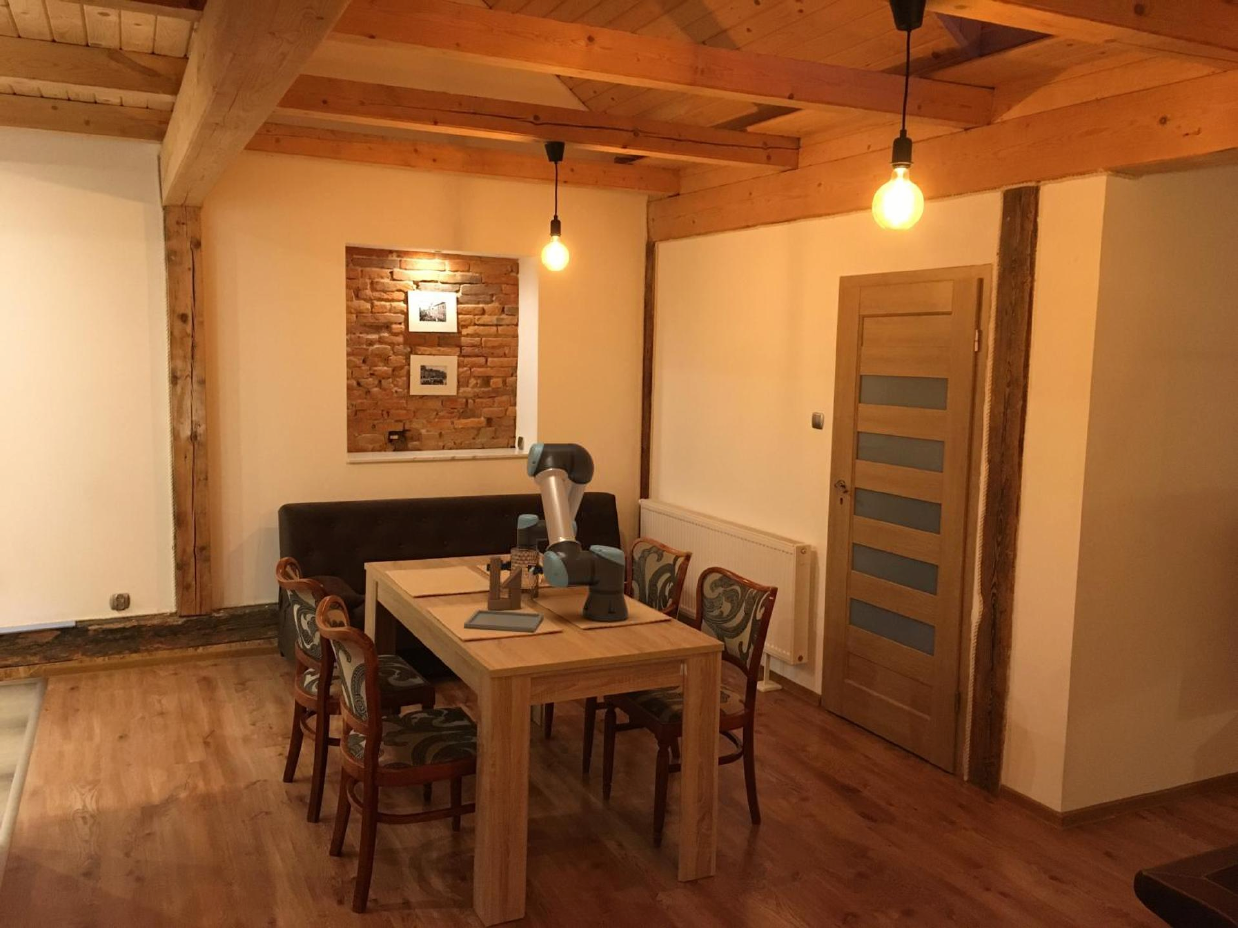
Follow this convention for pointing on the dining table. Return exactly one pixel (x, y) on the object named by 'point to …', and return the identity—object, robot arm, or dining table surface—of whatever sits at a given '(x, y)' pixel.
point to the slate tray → (504, 621)
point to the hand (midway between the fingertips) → (510, 573)
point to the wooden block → (504, 587)
